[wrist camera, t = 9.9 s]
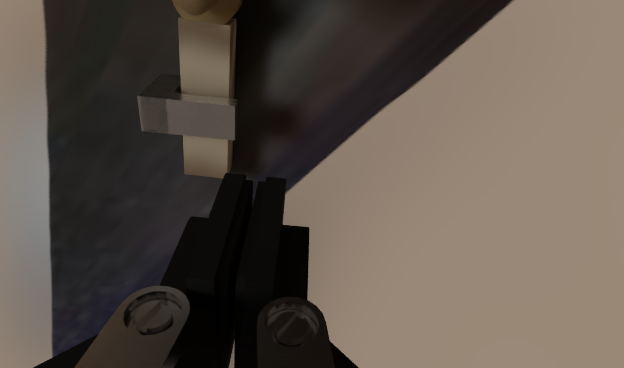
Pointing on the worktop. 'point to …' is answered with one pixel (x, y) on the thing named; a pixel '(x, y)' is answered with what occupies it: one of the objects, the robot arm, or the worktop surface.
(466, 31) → the worktop surface
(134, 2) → the worktop surface
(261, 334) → the robot arm
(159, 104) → the hook
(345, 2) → the worktop surface
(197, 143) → the pivot link
